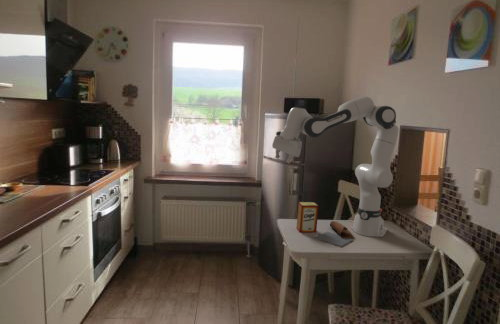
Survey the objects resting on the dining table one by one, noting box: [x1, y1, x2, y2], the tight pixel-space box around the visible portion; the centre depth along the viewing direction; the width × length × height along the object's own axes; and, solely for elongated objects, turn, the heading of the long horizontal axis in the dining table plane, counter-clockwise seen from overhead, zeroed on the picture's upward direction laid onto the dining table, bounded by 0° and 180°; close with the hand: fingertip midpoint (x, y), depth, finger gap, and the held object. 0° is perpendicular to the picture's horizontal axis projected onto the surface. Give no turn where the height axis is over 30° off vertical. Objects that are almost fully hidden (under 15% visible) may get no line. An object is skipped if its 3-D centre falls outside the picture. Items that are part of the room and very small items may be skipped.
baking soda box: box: [296, 201, 319, 234], centre depth 188 cm, size 10×6×16 cm
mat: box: [314, 231, 354, 248], centre depth 178 cm, size 13×16×1 cm
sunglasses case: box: [329, 220, 355, 239], centre depth 188 cm, size 18×7×7 cm, turn 6°
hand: (282, 160), depth 182 cm, fingers open, 8 cm apart
